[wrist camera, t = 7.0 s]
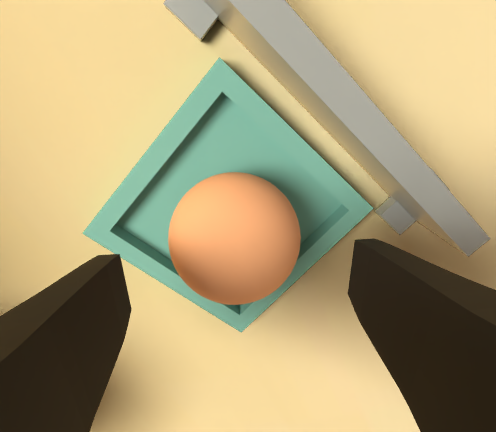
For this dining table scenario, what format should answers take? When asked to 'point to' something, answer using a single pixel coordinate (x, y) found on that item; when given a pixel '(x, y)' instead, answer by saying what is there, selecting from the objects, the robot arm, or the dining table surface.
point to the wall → (339, 112)
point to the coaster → (216, 162)
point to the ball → (234, 238)
